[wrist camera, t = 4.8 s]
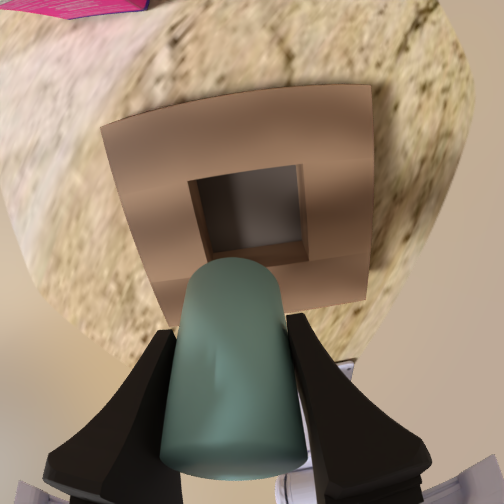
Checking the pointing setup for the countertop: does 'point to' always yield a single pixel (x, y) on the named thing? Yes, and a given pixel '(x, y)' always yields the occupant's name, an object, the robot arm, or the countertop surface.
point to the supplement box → (75, 7)
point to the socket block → (252, 190)
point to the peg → (233, 379)
